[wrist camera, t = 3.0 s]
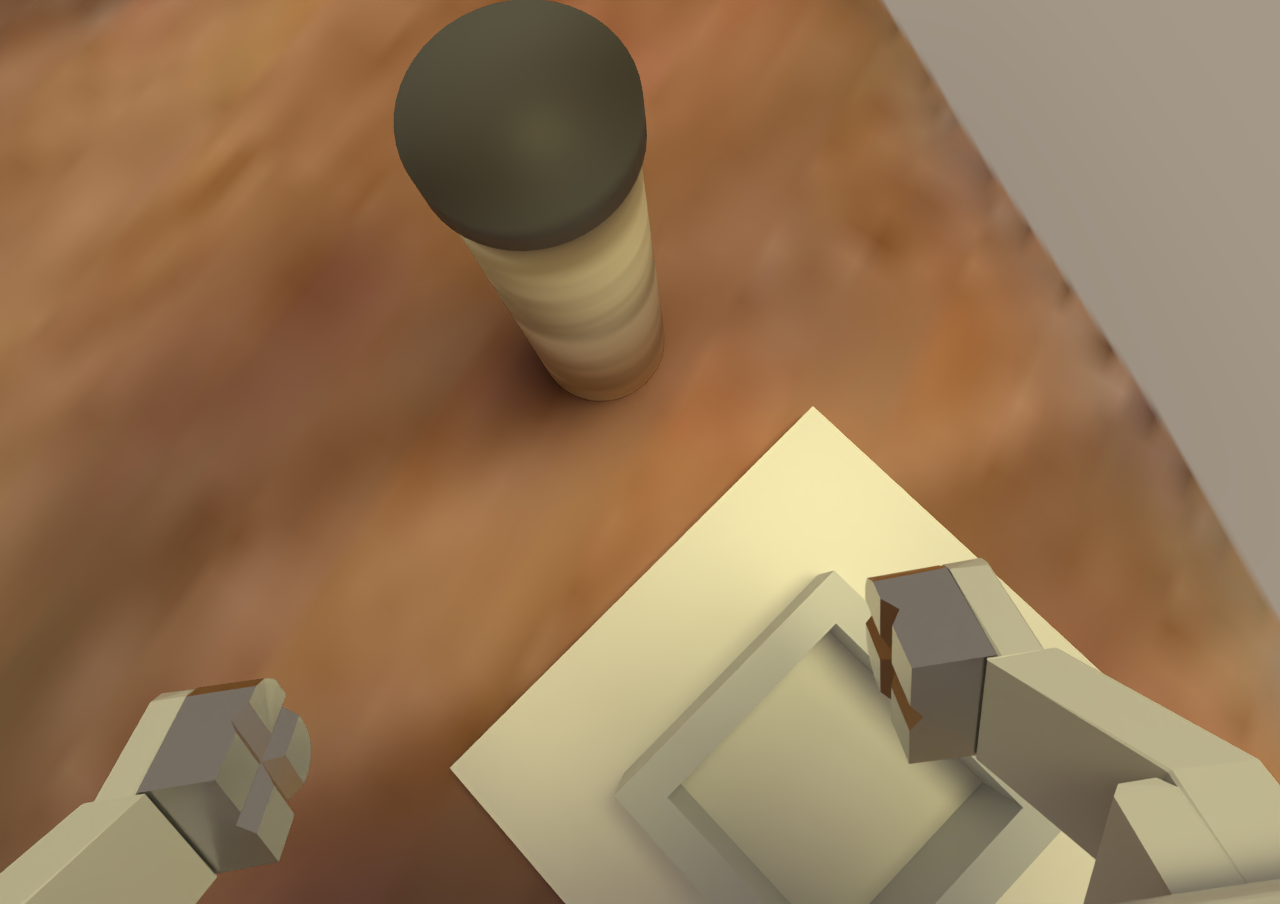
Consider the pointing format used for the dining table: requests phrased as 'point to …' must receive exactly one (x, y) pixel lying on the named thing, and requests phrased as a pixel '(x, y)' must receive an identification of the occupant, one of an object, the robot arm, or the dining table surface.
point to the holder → (762, 722)
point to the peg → (543, 181)
